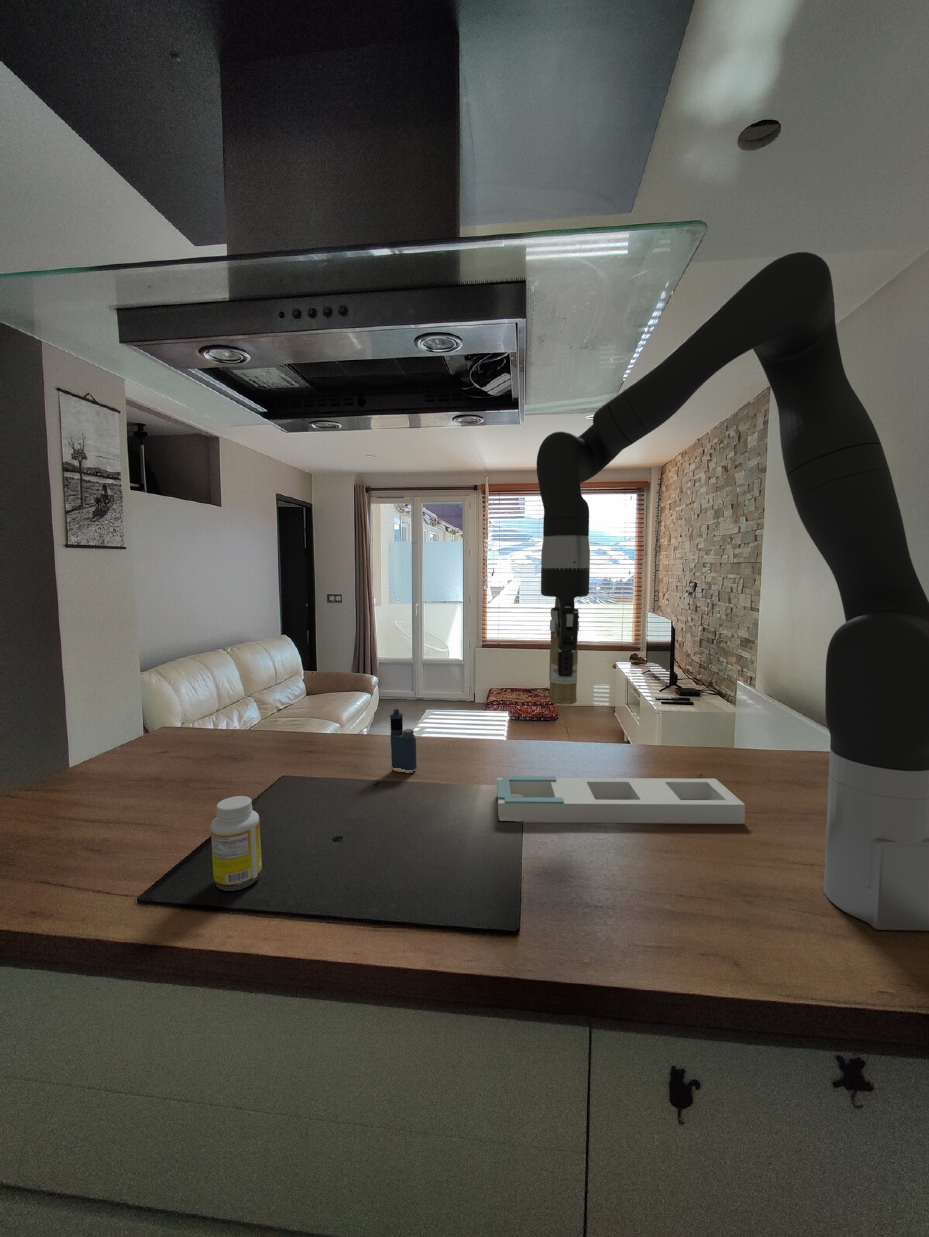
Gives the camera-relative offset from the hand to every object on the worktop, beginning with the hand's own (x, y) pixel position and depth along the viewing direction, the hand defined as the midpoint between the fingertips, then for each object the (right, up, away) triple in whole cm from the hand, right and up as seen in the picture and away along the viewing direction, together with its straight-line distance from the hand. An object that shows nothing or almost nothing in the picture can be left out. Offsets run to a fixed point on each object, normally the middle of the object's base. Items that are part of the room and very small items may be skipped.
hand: (563, 672), depth 83 cm
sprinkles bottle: (0, -5, 0) cm, 5 cm away
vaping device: (-28, -21, +18) cm, 39 cm away
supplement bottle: (-44, -25, -18) cm, 54 cm away
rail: (+8, -22, +1) cm, 23 cm away
